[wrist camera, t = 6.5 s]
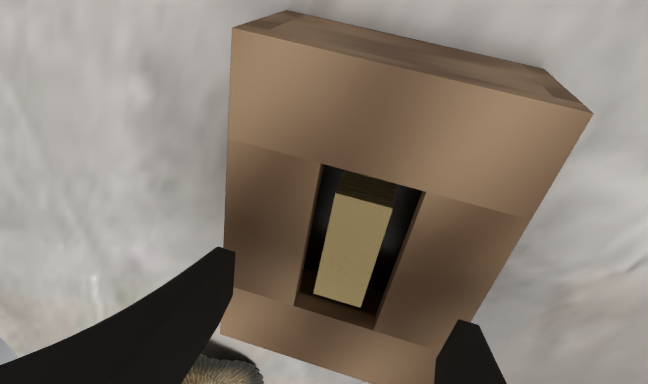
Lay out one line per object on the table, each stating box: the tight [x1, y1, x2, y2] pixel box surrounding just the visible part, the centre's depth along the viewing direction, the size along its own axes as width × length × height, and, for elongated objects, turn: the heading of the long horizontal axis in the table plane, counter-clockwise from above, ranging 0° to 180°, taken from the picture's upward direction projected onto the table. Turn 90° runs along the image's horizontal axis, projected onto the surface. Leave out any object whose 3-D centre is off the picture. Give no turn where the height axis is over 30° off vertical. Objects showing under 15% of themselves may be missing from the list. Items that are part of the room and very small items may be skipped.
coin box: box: [220, 10, 594, 384], centre depth 16 cm, size 10×14×5 cm
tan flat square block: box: [313, 170, 396, 308], centre depth 16 cm, size 2×5×5 cm, turn 170°
